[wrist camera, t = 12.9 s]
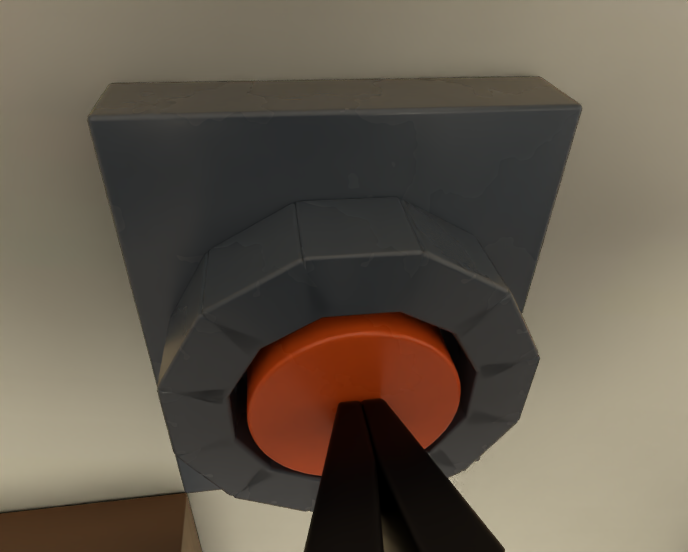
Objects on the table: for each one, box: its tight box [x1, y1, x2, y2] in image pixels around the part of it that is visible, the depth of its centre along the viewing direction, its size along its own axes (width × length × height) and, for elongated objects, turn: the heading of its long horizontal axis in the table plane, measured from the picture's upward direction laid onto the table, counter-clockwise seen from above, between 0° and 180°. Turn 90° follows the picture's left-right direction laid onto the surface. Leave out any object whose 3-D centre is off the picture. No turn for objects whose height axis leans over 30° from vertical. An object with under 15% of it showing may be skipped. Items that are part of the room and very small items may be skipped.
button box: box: [87, 77, 582, 512], centre depth 11 cm, size 10×8×4 cm
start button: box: [247, 312, 461, 476], centre depth 11 cm, size 4×4×2 cm
